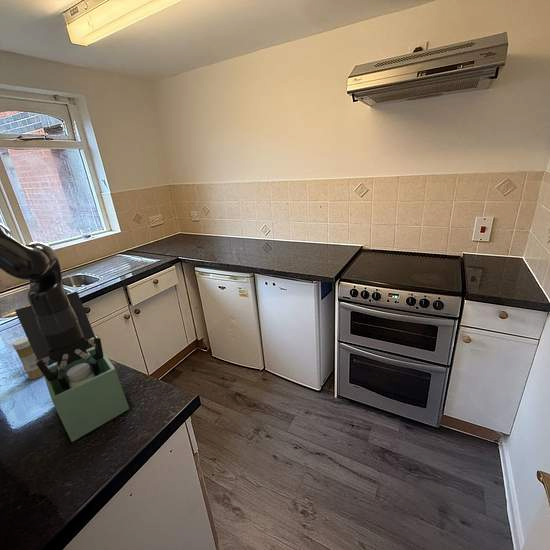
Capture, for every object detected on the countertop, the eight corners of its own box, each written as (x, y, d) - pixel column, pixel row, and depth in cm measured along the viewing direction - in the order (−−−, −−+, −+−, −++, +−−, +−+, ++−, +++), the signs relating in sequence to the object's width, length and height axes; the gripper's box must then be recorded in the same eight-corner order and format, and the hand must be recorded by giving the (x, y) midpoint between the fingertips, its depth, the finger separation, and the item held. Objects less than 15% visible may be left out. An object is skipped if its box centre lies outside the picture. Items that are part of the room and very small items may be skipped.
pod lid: (77, 291, 82) (76, 290, 82) (14, 310, 73) (14, 309, 74) (98, 344, 86) (97, 344, 86) (41, 368, 77) (41, 368, 78)
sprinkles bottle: (46, 368, 101) (31, 334, 96) (45, 376, 97) (29, 341, 92) (29, 374, 99) (13, 340, 94) (28, 382, 95) (10, 346, 90)
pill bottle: (85, 415, 77) (70, 380, 72) (74, 407, 80) (59, 372, 76) (108, 399, 81) (95, 365, 77) (97, 392, 85) (84, 359, 80)
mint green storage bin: (129, 408, 80) (115, 368, 75) (71, 442, 72) (51, 399, 67) (111, 382, 91) (98, 345, 86) (60, 408, 83) (41, 369, 78)
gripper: (88, 309, 79) (107, 361, 85) (21, 333, 70) (47, 389, 76) (96, 318, 74) (115, 373, 80) (24, 344, 65) (52, 404, 71)
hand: (82, 380), depth 78 cm, fingers closed on pill bottle, 6 cm apart
